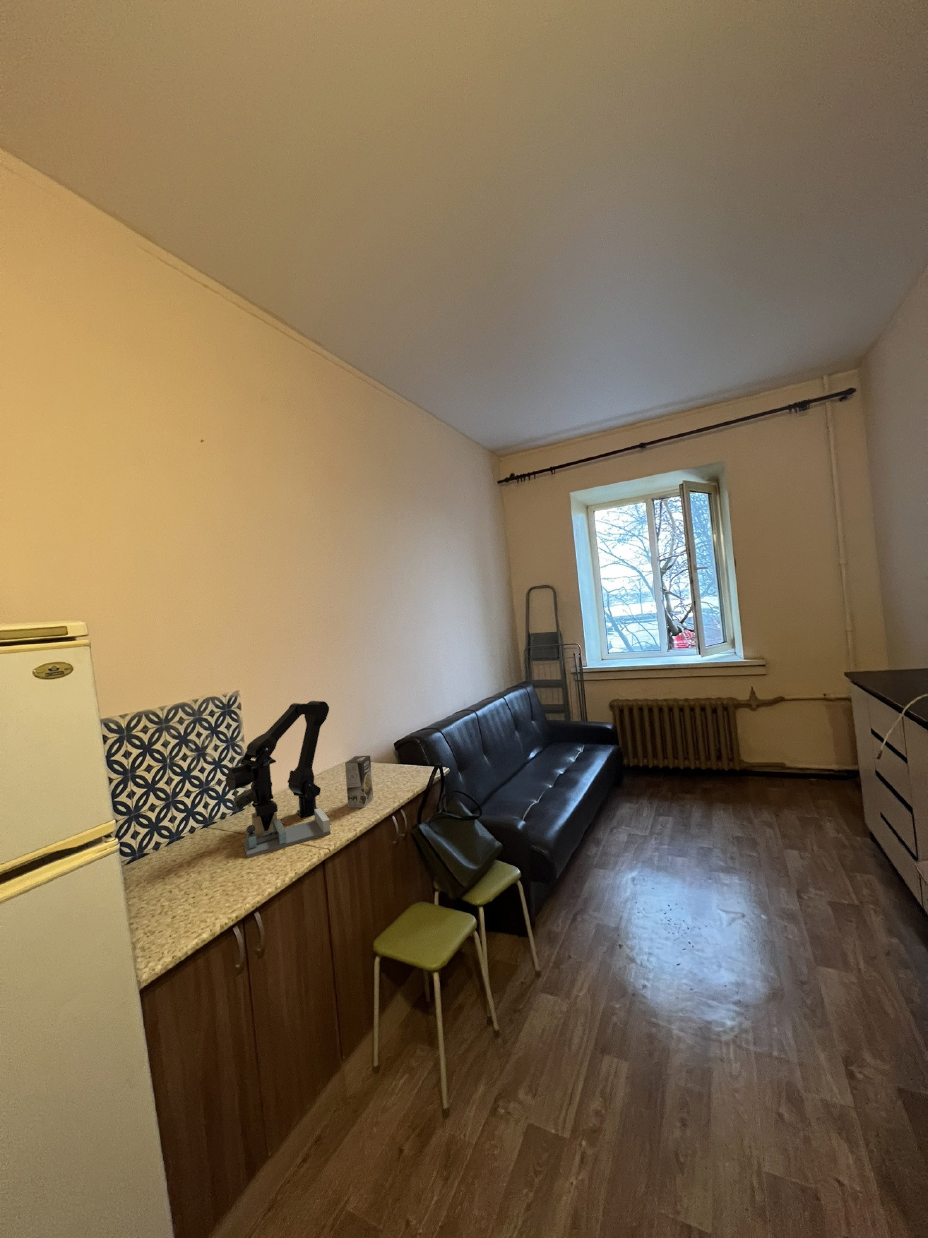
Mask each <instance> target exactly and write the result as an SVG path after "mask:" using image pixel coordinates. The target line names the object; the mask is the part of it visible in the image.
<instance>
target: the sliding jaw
mask: <svg viewBox="0 0 928 1238" xmlns="http://www.w3.org/2000/svg"><path fill="white" fill-rule="evenodd" d="M284 828H285V826H284V825H283V823H282V821H281V819H280V818H277V819H276V820H273V829H274V833H270V834H266V835H263V836H259V837H256V834H255V832H254V831H255V826H254V825H252V824H249V825H248V826H247V827H246V839H247V842H248V845H249V848H253V847H257V844H258V843H261V842H265V841H268V840H272V839H276V838H277V839H278V841H279V844H282V843H285V842H287V839H286V831H285V829H284Z"/></svg>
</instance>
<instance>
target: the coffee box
mask: <svg viewBox="0 0 928 1238" xmlns="http://www.w3.org/2000/svg"><path fill="white" fill-rule="evenodd" d="M371 759H372V758H371V755H356V756H354V757H351V759H349V760H348V761H346V762H345V763H344V767H345V782H346V795H347V807H348V808H352V809H353V808H356V809H359V808H361V809H363V808H365V807H366V806H367V805H368V804H369V803H370V802H371V801H372V800H373V799H374V789H373V788H374V787H373V785H374V784H373V775H372V773H373V772H372V764H371V763H372V760H371Z"/></svg>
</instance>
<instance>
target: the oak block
mask: <svg viewBox="0 0 928 1238" xmlns="http://www.w3.org/2000/svg"><path fill="white" fill-rule="evenodd" d="M276 819H278V815H277V812H275V813H274V816H273V818H272V821H271V824H270V826H269V829H268V831H264V828H263V824H262V821H261V817H256V814H255V812H253V813H251V823H252V824H251V825H254V826H255V831H254V832H255V834H256V836H258V835H261V834H265V833H269V832H273V831H274V829H273V820H276Z"/></svg>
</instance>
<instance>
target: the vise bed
mask: <svg viewBox="0 0 928 1238" xmlns="http://www.w3.org/2000/svg"><path fill="white" fill-rule="evenodd" d="M314 812H315V814H314V820H310V821H306V822H303V823H300V824H295V825H292V826H288V827H284V829H285V831H286V839H287V842H285V843H282V844H279V841H278V839H277V838H276V839H272V840H268V841H265V842H261V843H258V844H257V847H253V848H249V845H248V842H247V838H244V839H242V844H243V849H244V850H245V855H246V858H247V859H248V858H252V857H255V856H259V855H262V854H263V855H264V854H266V853H269V852H272V851H277V850H279V849H283V848H287V847H290V846H294V845H297V844H300V843H301V844H302V843H304V842H307V841H310V840H314V839H318V838H321V837H326V836H328V835H331V824H330V818H329V816H327V814H326V813H325V812H324V811H323V809H322V808H321V807H319V808H318V807H317V809H314ZM270 833H274V831H273V832H269V833H265V834H261V835H258V836H256V837H259V836H263V835H266V834H270Z"/></svg>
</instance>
